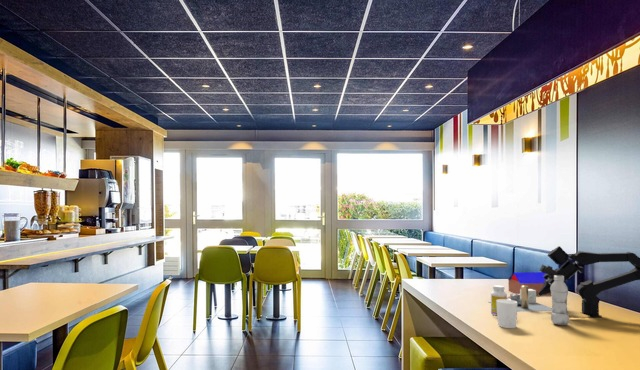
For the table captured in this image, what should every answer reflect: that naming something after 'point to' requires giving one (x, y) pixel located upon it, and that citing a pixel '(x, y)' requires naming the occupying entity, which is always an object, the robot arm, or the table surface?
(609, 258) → the robot arm
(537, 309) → the stand
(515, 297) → the crank handle
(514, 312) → the white cup
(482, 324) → the table surface
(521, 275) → the house
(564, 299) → the plastic bottle
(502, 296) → the supplement bottle
